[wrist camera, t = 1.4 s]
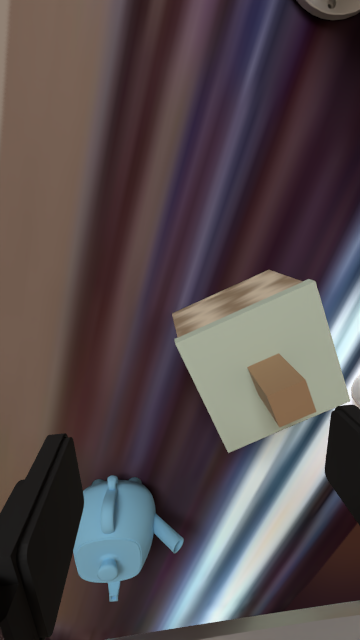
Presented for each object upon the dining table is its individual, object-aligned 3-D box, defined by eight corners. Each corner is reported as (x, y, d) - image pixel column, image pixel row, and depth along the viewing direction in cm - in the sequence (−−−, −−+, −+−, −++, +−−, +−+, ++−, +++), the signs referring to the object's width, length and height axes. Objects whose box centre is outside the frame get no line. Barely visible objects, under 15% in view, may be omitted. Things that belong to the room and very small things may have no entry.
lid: (303, 277, 30) (352, 293, 23) (338, 390, 34) (388, 434, 27) (173, 335, 31) (180, 369, 23) (223, 439, 35) (242, 495, 28)
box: (269, 269, 39) (306, 283, 29) (298, 357, 43) (340, 394, 33) (172, 313, 39) (178, 340, 30) (211, 395, 44) (227, 442, 34)
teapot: (113, 545, 51) (103, 630, 40) (52, 502, 47) (22, 583, 36) (181, 494, 49) (189, 569, 38) (123, 445, 45) (114, 513, 34)
